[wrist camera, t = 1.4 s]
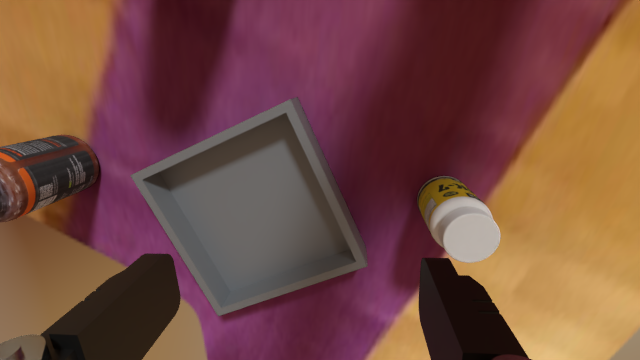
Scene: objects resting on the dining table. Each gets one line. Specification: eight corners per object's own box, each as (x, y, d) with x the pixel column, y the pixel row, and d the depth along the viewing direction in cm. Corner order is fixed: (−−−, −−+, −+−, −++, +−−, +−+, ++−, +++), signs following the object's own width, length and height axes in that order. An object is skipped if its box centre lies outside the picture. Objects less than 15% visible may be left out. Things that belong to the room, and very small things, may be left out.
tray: (297, 97, 29) (290, 99, 26) (366, 247, 33) (367, 266, 30) (152, 165, 33) (130, 175, 30) (230, 294, 37) (218, 316, 33)
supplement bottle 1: (38, 140, 33) (-112, 169, 22) (87, 127, 32) (-45, 152, 22) (63, 193, 35) (-65, 244, 24) (111, 183, 34) (-1, 231, 23)
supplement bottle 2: (474, 180, 30) (518, 217, 22) (458, 225, 32) (493, 274, 24) (423, 170, 30) (449, 202, 22) (410, 214, 32) (429, 260, 24)
